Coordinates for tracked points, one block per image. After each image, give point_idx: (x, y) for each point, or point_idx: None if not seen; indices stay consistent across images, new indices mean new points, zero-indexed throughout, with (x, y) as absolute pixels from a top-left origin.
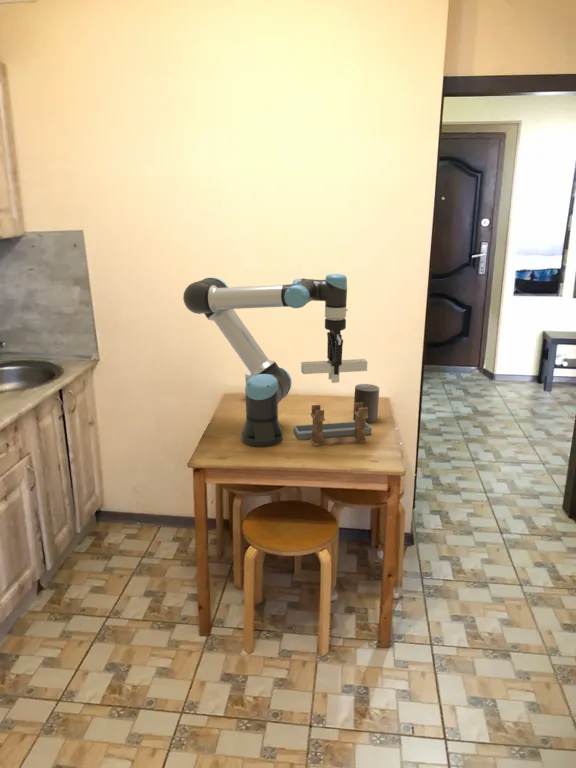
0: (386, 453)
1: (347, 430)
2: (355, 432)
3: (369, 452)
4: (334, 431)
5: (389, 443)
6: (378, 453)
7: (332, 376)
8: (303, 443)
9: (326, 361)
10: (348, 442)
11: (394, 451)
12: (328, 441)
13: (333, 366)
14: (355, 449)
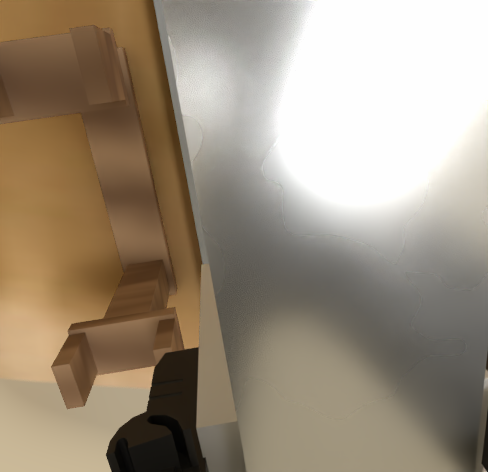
0: (30, 350)
1: (198, 240)
2: (147, 272)
3: (31, 295)
4: (187, 179)
5: (130, 371)
6: (26, 324)
7: (201, 307)
8: (106, 6)
9: (418, 354)
10: (113, 227)
11: (54, 377)
12: (103, 138)
13: (200, 431)
14: (56, 246)
